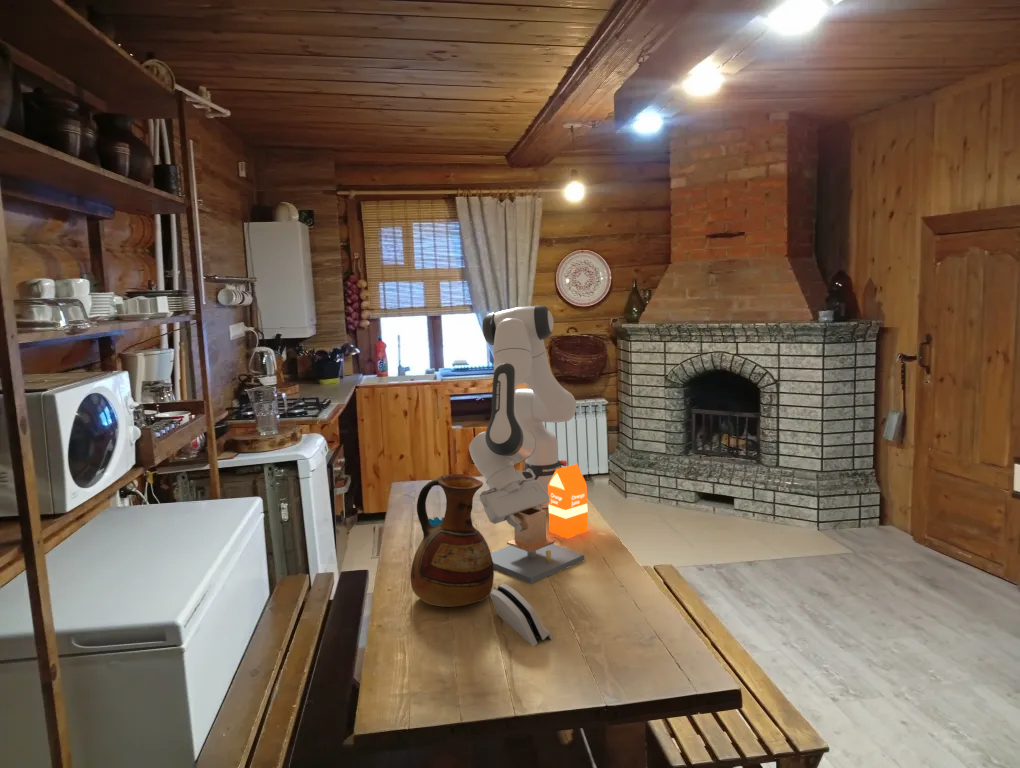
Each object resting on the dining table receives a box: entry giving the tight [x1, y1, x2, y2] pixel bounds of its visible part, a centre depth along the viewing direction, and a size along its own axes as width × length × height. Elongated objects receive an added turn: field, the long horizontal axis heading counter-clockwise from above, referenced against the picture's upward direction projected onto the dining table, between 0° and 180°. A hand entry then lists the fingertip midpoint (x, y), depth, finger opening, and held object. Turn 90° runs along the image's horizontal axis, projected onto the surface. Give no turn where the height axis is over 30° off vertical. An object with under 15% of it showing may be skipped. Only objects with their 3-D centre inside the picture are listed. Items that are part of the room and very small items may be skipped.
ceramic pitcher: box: [410, 473, 495, 607], centre depth 165 cm, size 20×20×30 cm
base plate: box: [490, 543, 586, 584], centre depth 187 cm, size 20×20×6 cm
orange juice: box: [548, 463, 589, 539], centre depth 207 cm, size 8×9×20 cm
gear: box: [428, 516, 444, 526], centre depth 207 cm, size 11×6×10 cm
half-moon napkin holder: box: [489, 583, 554, 647], centre depth 151 cm, size 17×5×10 cm, turn 27°
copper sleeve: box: [506, 507, 555, 552], centre depth 186 cm, size 9×9×9 cm
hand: (531, 527), depth 185 cm, fingers closed on copper sleeve, 6 cm apart
